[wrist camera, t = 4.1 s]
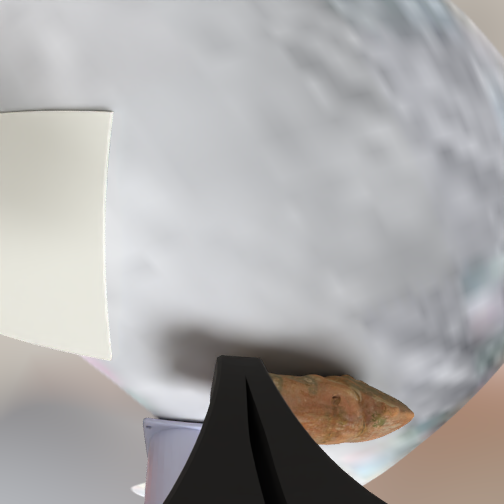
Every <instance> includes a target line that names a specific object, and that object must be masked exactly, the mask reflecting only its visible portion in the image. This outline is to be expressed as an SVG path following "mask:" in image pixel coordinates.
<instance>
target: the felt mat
mask: <svg viewBox="0 0 504 504" xmlns="http://www.w3.org/2000/svg"><path fill="white" fill-rule="evenodd" d="M113 113H114V112H106V111H24V112H6V113H0V335H3V336H7V337H10V338H13V339H17V340H20V341H24V342H28V343H32V344H35V345H39V346H43V347H47V348H51V349H55V350H60V351H64V352H68V353H73V354H78V355H82V356H87V357H92V358H97V359H103V360H108V361H111V359H112V349H111V340H110V330H109V319H108V306H107V289H106V264H105V214H106V188H107V172H108V159H109V148H110V138H111V129H112V121H113Z"/></svg>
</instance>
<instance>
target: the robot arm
mask: <svg viewBox="0 0 504 504" xmlns="http://www.w3.org/2000/svg"><path fill="white" fill-rule="evenodd" d="M143 427H144V435H145V443H146V450H147V457H148V462H147V474H146V487H145V503H144V504H387V503H385V502H384V501H382V500H381V499H380V498H378V497H377V496H375V495H374V494H372V493H371V492H369V491H368V490H367V489H365V488H364V487H363V486H362V485H360V484H359V483H358V482H357V481H355V480H354V479H353V478H352V477H351V476H349V475H348V474H347V473H346V472H345V471H343V470H342V469H341V468H340V467H339V466H338V465H337V464H336V463H335V462H334V461H333V460H332V459H331V458H330V457H329V456H328V455H327V454H326V453H325V452H324V451H323V450H322V449H321V448H320V446H319V445H318V444H317V443H316V442H315V441H314V439H313V438H312V437H311V436H310V435H309V433H308V432H307V431H306V430H305V428H304V427H303V426H302V424H301V423H300V422H299V420H298V419H297V418H296V416H295V415H294V413H293V412H292V410H291V409H290V407H289V406H288V404H287V403H286V401H285V400H284V398H283V397H282V395H281V394H280V392H279V390H278V389H277V387H276V385H275V384H274V382H273V380H272V378H271V377H270V375H269V373H268V371H267V369H266V367H265V365H264V363H263V361H262V360H261V359H260V358H251V357H236V356H223V355H221V356H219V357H217V360H216V365H215V371H214V377H213V382H212V388H211V394H210V405H209V408H208V411H207V414H206V417H205V420H204V422H203V424H201V423H189V422H178V421H169V420H161V419H153V418H145V419H144V420H143Z"/></svg>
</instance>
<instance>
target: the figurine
mask: <svg viewBox="0 0 504 504" xmlns="http://www.w3.org/2000/svg"><path fill="white" fill-rule="evenodd" d="M269 375H270V377H271V378H272V380H273V382H274V384H275V385H276V387H277V389H278V390H279V392H280V394H281V395H282V397H283V398H284V400H285V401H286V403H287V404H288V406H289V407H290V409H291V410H292V412H293V413H294V415H295V416H296V418H297V419H298V420H299V422H300V423H301V424H302V426H303V427H304V428H305V430H306V431H307V432H308V433H309V435H310V436H311V437H312V438H313V439H314V441H315V442H316V443H317V444H324V445H329V444H340V443H344V442H350V443H351V442H363V441H369V440H373V439H376V438H380V437H383V436H385V435H387V434H389V433H391V432H393V431H395V430H397V429H399V428H401V427H402V426H404V425H406V424H407V423H408V422H410V421H411V420H412V418H413V417H414V413H413V412H412V411H411V410H410V409H409V408H408V407H407V406H406V405H405V404H403V403H402V402H400V401H399V400H397V399H395V398H393V397H392V396H389V395H387V394H385V393H383V392H381V391H379V390H378V389H376V388H374V387H371V386H369V385H368V384H366V383H364V382H363V381H360V380H355V379H354V378H353V377H351V376H350V375H342V376H341V377H340V376H327V377H325V378H324V377H322V376H320V375H315V374H309V375H305V376H292V375H278V374H273V373H269Z"/></svg>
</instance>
